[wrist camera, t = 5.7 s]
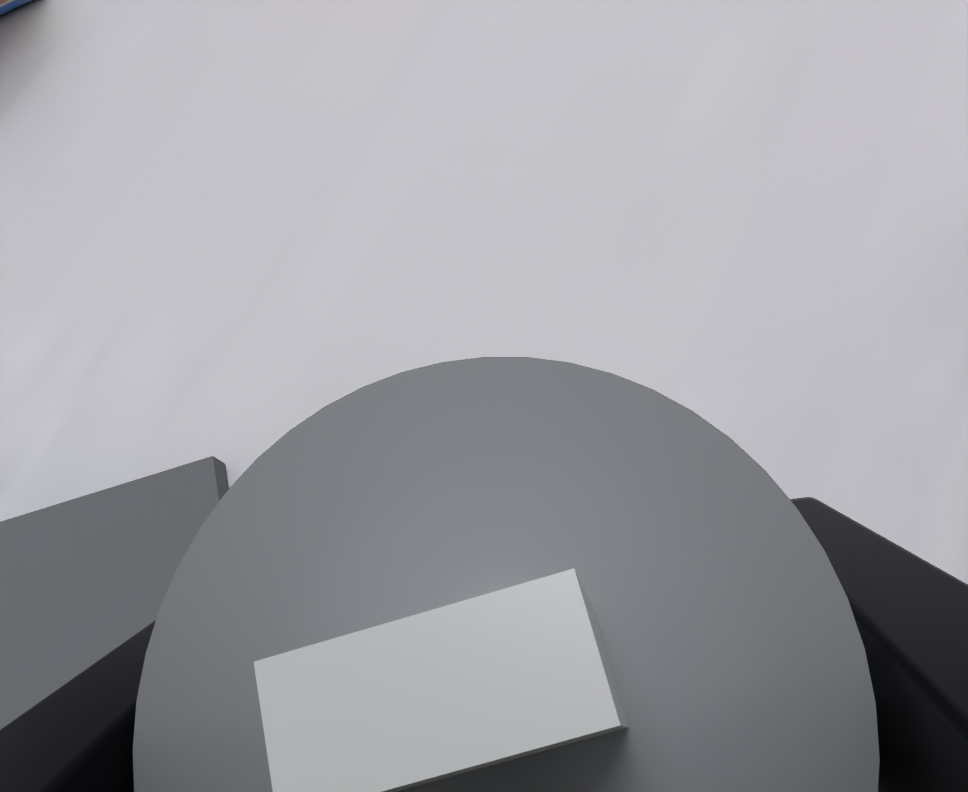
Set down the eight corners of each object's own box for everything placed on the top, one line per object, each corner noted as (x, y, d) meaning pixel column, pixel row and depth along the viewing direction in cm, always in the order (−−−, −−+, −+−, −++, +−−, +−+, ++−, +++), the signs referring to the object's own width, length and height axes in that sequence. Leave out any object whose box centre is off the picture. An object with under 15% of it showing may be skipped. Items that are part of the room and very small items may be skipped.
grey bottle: (480, 922, 14) (4, 1442, 4) (414, 616, 16) (-29, 400, 6) (785, 842, 14) (1180, 1172, 4) (680, 539, 16) (730, 156, 5)
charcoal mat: (-233, 1158, 17) (-262, 1172, 17) (-208, 597, 21) (-231, 593, 21) (307, 1017, 16) (295, 1028, 16) (224, 463, 21) (212, 456, 20)
